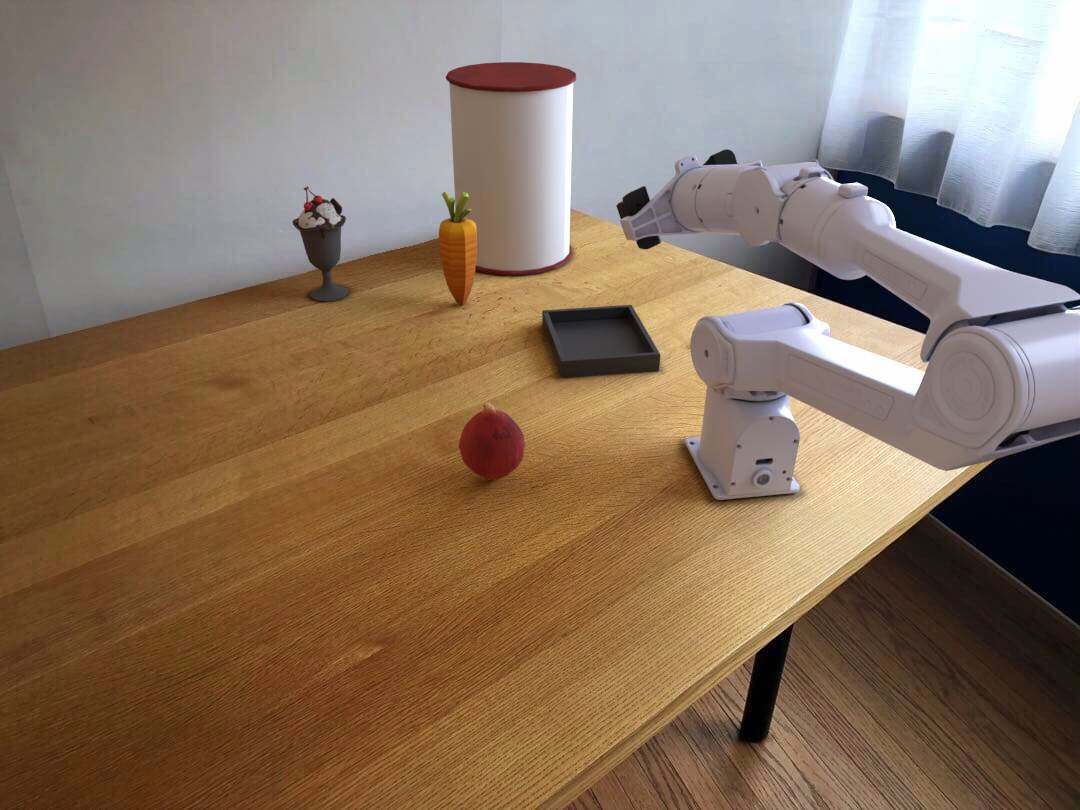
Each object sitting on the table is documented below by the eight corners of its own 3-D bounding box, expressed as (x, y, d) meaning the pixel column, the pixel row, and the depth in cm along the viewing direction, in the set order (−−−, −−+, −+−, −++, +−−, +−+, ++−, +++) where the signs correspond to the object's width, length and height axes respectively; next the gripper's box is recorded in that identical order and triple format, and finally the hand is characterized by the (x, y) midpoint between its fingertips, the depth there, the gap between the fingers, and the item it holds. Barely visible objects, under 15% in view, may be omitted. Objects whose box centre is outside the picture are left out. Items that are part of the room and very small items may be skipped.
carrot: (436, 301, 112) (429, 187, 104) (472, 294, 114) (467, 182, 106) (449, 316, 108) (443, 199, 100) (486, 309, 110) (482, 194, 102)
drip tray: (659, 370, 96) (660, 354, 95) (560, 378, 95) (561, 361, 94) (630, 319, 107) (631, 304, 106) (542, 325, 106) (542, 310, 105)
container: (581, 272, 120) (587, 85, 107) (458, 279, 118) (448, 89, 105) (562, 230, 135) (565, 60, 122) (451, 234, 133) (443, 63, 120)
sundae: (304, 307, 110) (287, 192, 102) (302, 286, 116) (285, 176, 108) (356, 301, 112) (343, 188, 104) (352, 281, 117) (339, 172, 109)
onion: (528, 462, 81) (527, 389, 77) (520, 499, 76) (520, 423, 72) (467, 458, 82) (463, 385, 77) (456, 495, 77) (451, 419, 73)
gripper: (780, 124, 75) (703, 133, 88) (638, 188, 72) (579, 188, 85) (800, 201, 78) (722, 199, 90) (664, 266, 75) (603, 254, 87)
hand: (654, 198), depth 88 cm, fingers open, 7 cm apart
